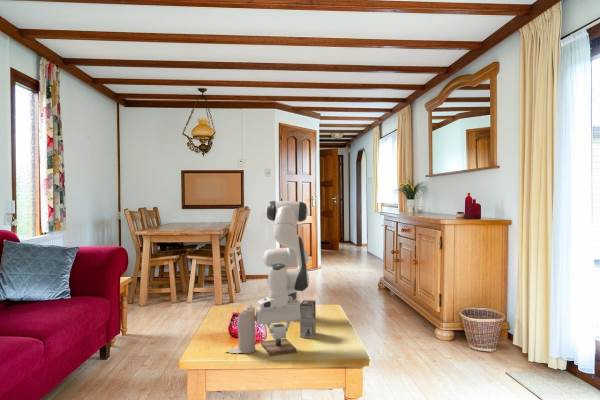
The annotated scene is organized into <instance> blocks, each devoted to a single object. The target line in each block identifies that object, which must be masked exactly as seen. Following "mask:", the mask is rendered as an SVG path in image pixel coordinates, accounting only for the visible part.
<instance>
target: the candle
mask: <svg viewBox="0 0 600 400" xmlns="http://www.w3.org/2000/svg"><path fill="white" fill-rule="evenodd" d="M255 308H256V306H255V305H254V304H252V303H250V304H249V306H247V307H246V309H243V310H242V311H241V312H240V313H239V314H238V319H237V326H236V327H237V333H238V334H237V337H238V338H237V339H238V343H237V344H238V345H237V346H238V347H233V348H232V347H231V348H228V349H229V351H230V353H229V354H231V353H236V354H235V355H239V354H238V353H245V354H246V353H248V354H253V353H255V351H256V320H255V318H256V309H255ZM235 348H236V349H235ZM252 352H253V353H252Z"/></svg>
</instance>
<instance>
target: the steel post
mask: <svg viewBox="0 0 600 400" xmlns="http://www.w3.org/2000/svg"><path fill="white" fill-rule="evenodd" d="M275 340H276V346H281V339H275Z"/></svg>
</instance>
